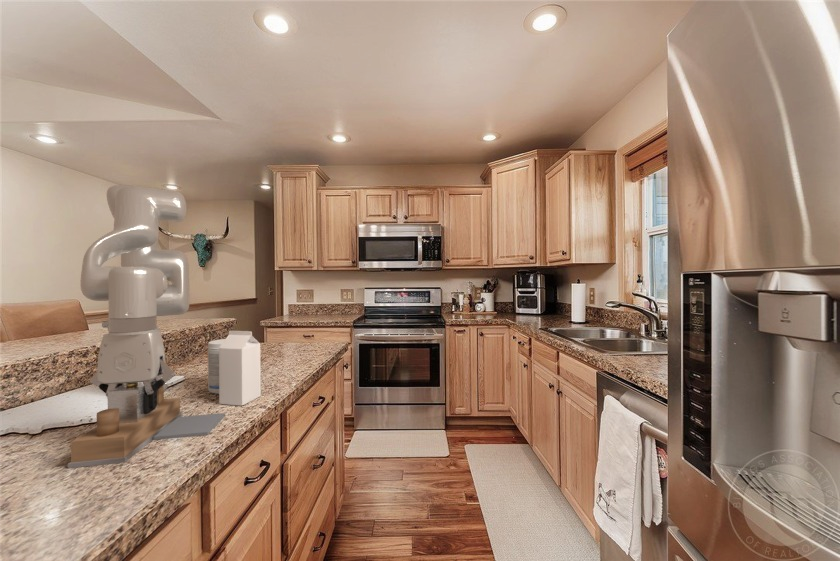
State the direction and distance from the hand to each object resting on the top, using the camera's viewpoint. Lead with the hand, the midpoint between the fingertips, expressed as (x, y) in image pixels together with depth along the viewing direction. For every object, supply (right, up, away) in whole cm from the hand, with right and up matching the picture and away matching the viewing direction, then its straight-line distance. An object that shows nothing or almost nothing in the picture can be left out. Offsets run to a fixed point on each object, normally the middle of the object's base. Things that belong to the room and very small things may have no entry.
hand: (134, 411), depth 68 cm
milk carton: (+11, -6, +21) cm, 24 cm away
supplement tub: (+1, -6, +30) cm, 31 cm away
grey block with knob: (0, -1, 0) cm, 1 cm away
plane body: (0, -5, 0) cm, 5 cm away
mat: (+9, -5, +5) cm, 11 cm away
